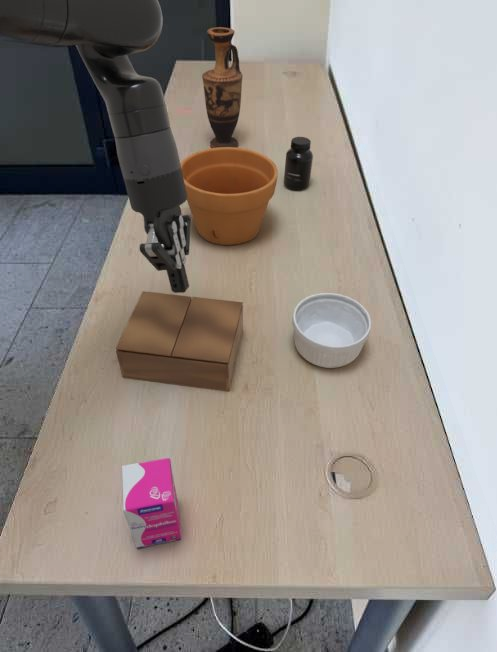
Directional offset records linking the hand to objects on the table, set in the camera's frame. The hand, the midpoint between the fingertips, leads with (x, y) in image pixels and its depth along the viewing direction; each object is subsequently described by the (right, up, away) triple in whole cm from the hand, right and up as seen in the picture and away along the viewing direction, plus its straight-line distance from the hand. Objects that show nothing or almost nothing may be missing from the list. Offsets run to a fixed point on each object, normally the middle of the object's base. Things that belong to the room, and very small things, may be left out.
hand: (180, 290), depth 71 cm
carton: (-1, -10, +14) cm, 17 cm away
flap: (-5, -5, +10) cm, 12 cm away
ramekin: (+24, -9, +16) cm, 30 cm away
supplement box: (-2, -31, -7) cm, 32 cm away
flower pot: (+5, +17, +42) cm, 46 cm away
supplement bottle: (+23, +32, +57) cm, 69 cm away
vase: (+3, +48, +74) cm, 88 cm away
